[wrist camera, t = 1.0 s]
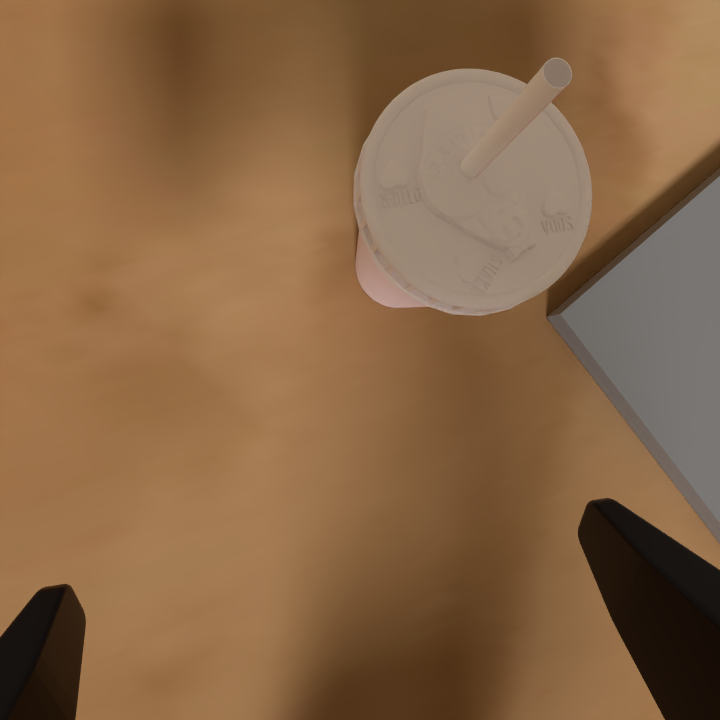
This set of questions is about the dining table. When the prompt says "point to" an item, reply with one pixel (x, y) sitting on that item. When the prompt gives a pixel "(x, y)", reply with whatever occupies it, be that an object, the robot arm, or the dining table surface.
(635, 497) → the dining table surface
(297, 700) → the dining table surface
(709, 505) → the slate trivet
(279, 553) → the dining table surface
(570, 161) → the smoothie
